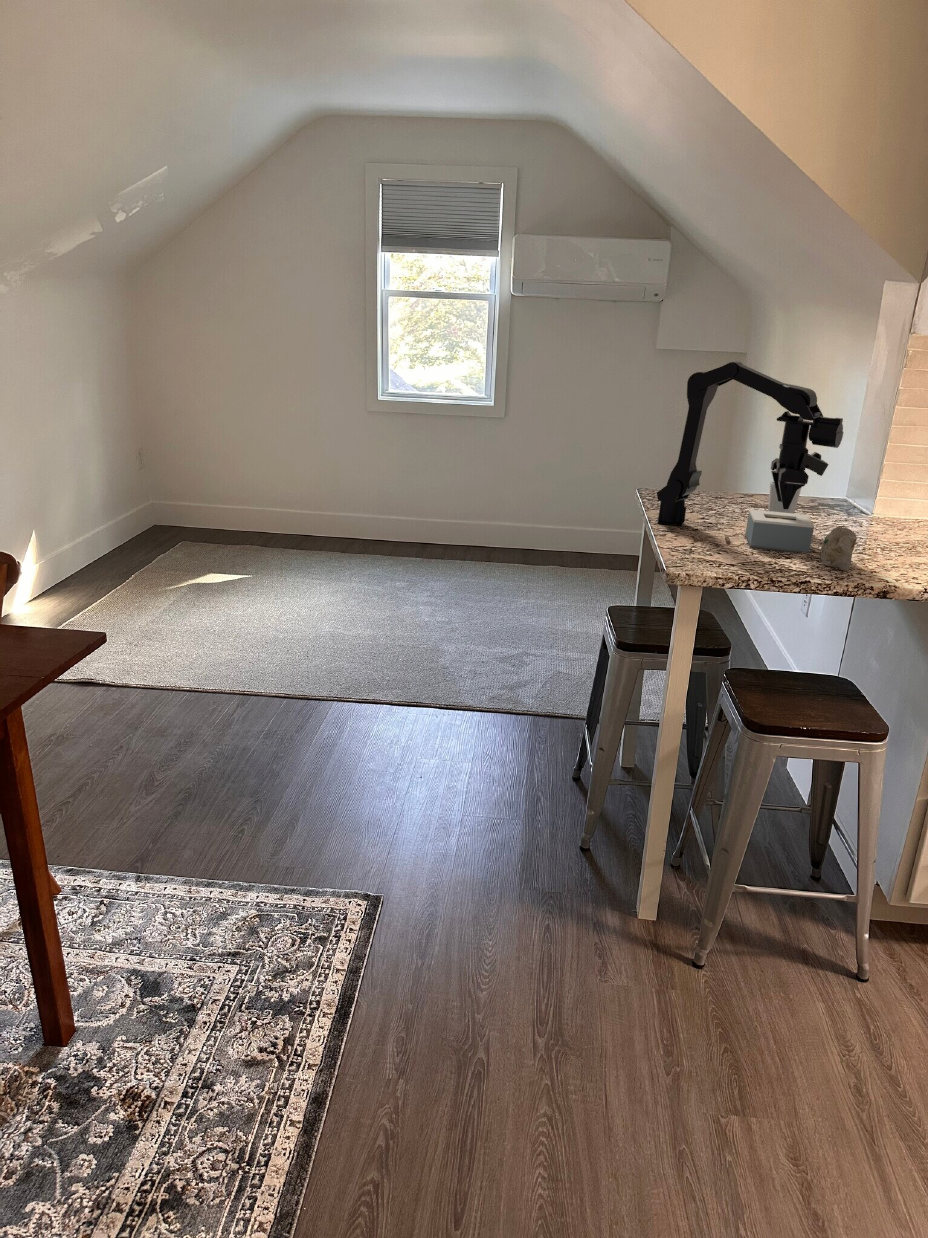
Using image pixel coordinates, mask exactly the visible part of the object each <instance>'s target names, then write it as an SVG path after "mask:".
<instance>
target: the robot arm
mask: <svg viewBox="0 0 928 1238" xmlns="http://www.w3.org/2000/svg"><path fill="white" fill-rule="evenodd" d="M731 381H735V382H738V383H740V384H742V385H743V386H746V387H748V388H750V389H753V390H754V391H757V392H759V393H761V394H764V395H766V396H768V397H770V398H772V399H774V401H776V402H777V403H778V404H779V405H780V406H781V407H782V408H784V409H785V411H784V412H783V413H782V414H781V415H780V416H778V417H776V421H777V422H783V423H784V427H783V433H782V438H781V439H782V440H781V443H779V449H780V450H779V457H778V458H777V457H775V459H773V460H772V461H771V464H770V470H771V476H772V477H771V478H772V480H773V481H774V485H775V489H776V494H777V498H778V501H779V502H782V505H783V509H786V510H787V509H788V508H789V506H790V504H791V502H792V500H793V498H794V495H795V493H796V491H797V490H798V489H799V488H801V489H802V487H805V486H806V484H808V483H809V482H808V481H809V476H810V475H808V473H807V472H806V469H807V470H809V471H812V472H813V473H816V474H817V476H820V477H822V476H823V475H824V474H825V472H826V470H827V469H828V466H829V465H830V464H828V462H827V461H825V460H823V459H822V455H821V454H820V453H818V452H817V451H814V452H813V453H811V454H810V453H809V449H808V448H807V444H808V440H809V442H811V444H812V445H815V446H820V447H821V446H822V447H828V448H835V449H838V448H839V447H840V445H841V442H842V441H843V438H844V426H843V422H844V421H843V418H841V417H827V416H824V415H823V413H822V411H821V409H820V406H819V405H818V396H817V393H816V392H815V391H814V389H811V388H808V387H804V386H800V385H796V384H789V383H784V382H782V381H780V380H778V379H776V378H773V377H771V376H769V375H768V374H765V373H762V372H760V371H759V370H755V369H753V368H751V367H749V366H747V365H745V364H743V363H742V362H741V361H729V362H727V363H726V364H724V365H721V366H719V367H716V368H714V369H710V370H708V371H707V370H706V371H697V372H693V374H691V375H690V376H689V377H688V380H687V381H686V399H687V405H688V409H687V410H688V411H687V414H686V415H687V416H686V419H685V424H684V425H685V426H684V428H683V434H682V439H681V442H680V443H681V444H680V449H679V454H678V459H677V462H676V464H675V465H674V467H673V468H672V470H671V471H670V475H669V477H668V480H667V482H666V485H665V486H663V488H661V489H660V490H658V491H657V492H656V496H657V501H659V508H658V516H657V517H656V519H657V524H660V525H669V526H680V527H681V526H683V525H684V523H685V520H686V514H687V506H686V505H685V503H686V502H685V500H688V499H689V496H690V495H691V494H692V493H694V492H695V490H696V489H697V487H699V486H700V479H701V476H702V473H703V471H702V470H698V468H697V458H698V453H699V449H700V444H701V440H702V435H703V429H704V425H705V422H706V416H707V411H708V408H709V406H710V405H711V403H712V402H713V400H714V398H715V396H716V393H717V390H718V388H719V387H720V386H723V385H725V384H727V383H729V382H731ZM773 481H772V482H773Z"/></svg>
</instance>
